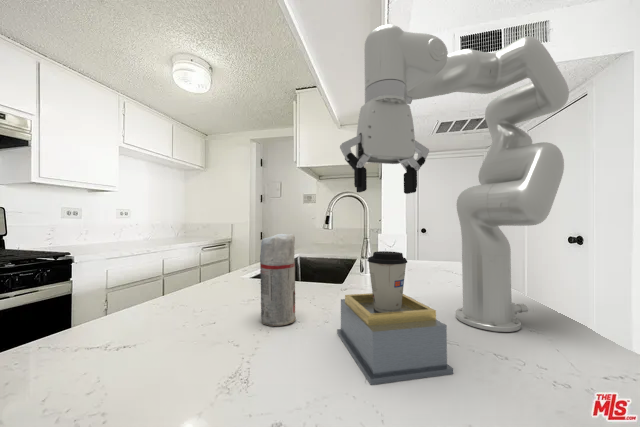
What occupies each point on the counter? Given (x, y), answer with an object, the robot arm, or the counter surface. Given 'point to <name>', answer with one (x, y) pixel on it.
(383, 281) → the coffee cup
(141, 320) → the counter surface
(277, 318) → the spray can
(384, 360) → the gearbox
